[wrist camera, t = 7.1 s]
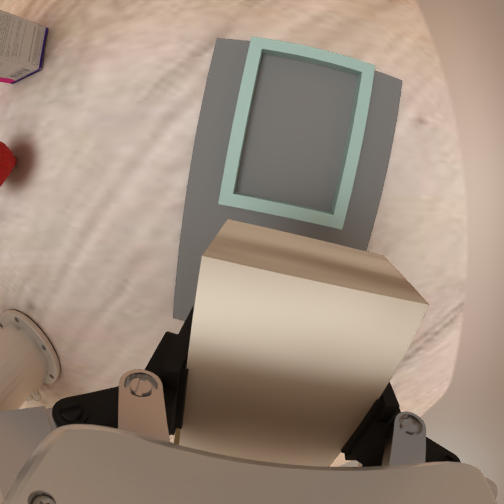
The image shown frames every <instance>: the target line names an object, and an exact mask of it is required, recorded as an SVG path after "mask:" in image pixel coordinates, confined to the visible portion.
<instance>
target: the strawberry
mask: <svg viewBox="0 0 504 504" xmlns="http://www.w3.org/2000/svg"><path fill="white" fill-rule="evenodd" d="M16 163H17V160H16V158H15V156H14V155H13V153H12V152H11V150H10V149H9V148H8V147H7V146H6V145H5V144H4V143H3V142H0V186H1V185H2V184H3V183H4V181H5V180H6V179H7V177H8V176H9V175H10V173H11V171H12V169H13V168H14V167H15V165H16Z"/></svg>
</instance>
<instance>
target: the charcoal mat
mask: <svg viewBox="0 0 504 504" xmlns="http://www.w3.org/2000/svg"><path fill="white" fill-rule="evenodd" d="M249 45H250V41H243V40H233V39H222V38H217V40H216V44H215V48H214V52H213V56H212V60H211V65H210V69H209V73H208V78H207V82H206V87H205V91H204V96H203V101H202V106H201V111H200V116H199V121H198V126H197V132H196V137H195V143H194V148H193V154H192V160H191V166H190V172H189V179H188V185H187V192H186V199H185V206H184V214H183V221H182V229H181V238H180V246H179V255H178V265H177V275H176V286H175V298H174V311H173V318H175V319H179V320H183V321H186V319H187V317H188V315H189V313H190V311H191V309H192V307H193V306H194V305H195V298H196V291H197V285H198V278H199V272H200V265H201V259H202V255H203V254H204V252H205V251H206V249H207V248H208V246H209V245H210V244H211V242H212V241H213V239H214V238H215V236H216V235H217V234H218V232H219V231H220V229H221V228H222V227H223V225H224V224H225V222H226V221H227V220H228V219H230V220H234V221H239V222H243V223H248V224H252V225H257V226H261V227H266V228H270V229H274V230H279V231H283V232H287V233H292V234H296V235H300V236H304V237H309V238H313V239H317V240H321V241H325V242H330V243H334V244H338V245H342V246H346V247H350V248H354V249H358V250H362V251H366V249H367V246H368V243H369V239H370V236H371V232H372V229H373V225H374V221H375V218H376V214H377V210H378V206H379V202H380V198H381V194H382V190H383V186H384V181H385V177H386V172H387V168H388V163H389V158H390V153H391V148H392V143H393V138H394V132H395V127H396V121H397V115H398V108H399V102H400V95H401V87H402V80H399V79H397V78H394V77H392V76H389V75H386V74H383V73H381V72H378V71H374V78H373V84H372V91H371V97H370V103H369V109H368V115H367V121H366V126H365V131H364V137H363V142H362V147H361V152H360V156H359V161H358V166H357V170H356V175H355V179H354V184H353V188H352V192H351V197H350V201H349V205H348V209H347V213H346V217H345V221H344V225H343V228H342V230H341V229H337V228H333V227H328V226H324V225H319V224H315V223H310V222H306V221H301V220H296V219H292V218H287V217H282V216H277V215H272V214H267V213H262V212H257V211H252V210H247V209H242V208H237V207H232V206H226V205H221V204H218V203H219V197H220V191H221V185H222V179H223V174H224V168H225V162H226V157H227V151H228V146H229V141H230V136H231V130H232V125H233V120H234V115H235V110H236V105H237V100H238V96H239V91H240V86H241V81H242V77H243V72H244V67H245V63H246V58H247V54H248V50H249ZM357 80H358V75H355V74H351V73H348V72H345V71H341V70H337V69H334V68H330V67H326V66H322V65H318V64H314V63H310V62H305V61H301V60H296V59H291V58H286V57H280V56H275V55H269V54H262V58H261V62H260V67H259V72H258V76H257V81H256V86H255V91H254V95H253V100H252V105H251V110H250V115H249V120H248V125H247V130H246V135H245V141H244V146H243V151H242V156H241V161H240V167H239V172H238V178H237V183H236V189H235V192H238V193H243V194H248V195H253V196H258V197H263V198H268V199H273V200H278V201H283V202H288V203H292V204H297V205H302V206H306V207H311V208H315V209H319V210H324V211H328V212H331V209H332V205H333V200H334V196H335V192H336V187H337V183H338V179H339V174H340V170H341V165H342V160H343V155H344V151H345V146H346V141H347V136H348V131H349V125H350V120H351V115H352V109H353V104H354V98H355V92H356V86H357Z"/></svg>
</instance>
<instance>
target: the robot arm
mask: <svg viewBox="0 0 504 504" xmlns="http://www.w3.org/2000/svg"><path fill="white" fill-rule="evenodd" d="M193 312H194V306H193V307H192V309H191V311H190V313H189V315H188V317H187V319H186V321H185V322H184V324H183V326H182V328H181V330H180V332H179V334H174V333H171V332H166V333H165V335H164V336H163V338H162V340H161V342H160V343H159V345H158V347H157V349H156V351H155V352H154V354H153V356H152V358H151V359H150V361H149V363H148V365H147V367H146V368H145V370H141V369H137V370H131V371H128V372H126V373H125V374H123V376H122V377H121V378H120V381H119V386H118V387H114V388H110V389H105V390H101V391H96V392H92V393H87V394H82V395H77V396H72V397H67V398H63V399H61V400H59V401H58V402H56V404H55V405H54V406H53V408H49V409H46V407H45V406H41V407H34V408H26V409H19V407H20V406H21V405H22V404H23V403H24V401H25V400H28V401H29V400H32V399H33V397H34V399H35V400H36V401H39V400H41V395H40V393H39V391H38V390H39V388H40V387H41V386H42V385H43V384H46V385H48V384H52V383H54V382H55V381H56V380H57V378H58V377H59V374H60V365H59V361H58V358H57V355H56V353H55V351H54V349H53V347H52V345H51V343H50V342H49V340H48V339H47V337H46V336H45V335H44V333H43V332H42V331H41V330H40V328H39V327H38V326H37V325H36V324H35V323H34V322H33V321H32V320H31V319H29V318H28V317H27V316H25V315H24V314H22V313H20V312H18V311H15V310H8V311H5V312H4V313H3V314H2V315H1V316H0V488H1V491H2V495H3V499H4V500H3V502H2V504H497V502H496V496H497V487H496V485H495V483H494V482H493V481H491V480H489V479H487V478H486V477H484V475H483V474H482V472H481V471H480V470H479V469H477V468H476V467H474V466H472V465H468V464H465V463H461V462H460V460H459V458H458V457H457V456H456V455H455V454H453V453H451V452H450V451H448V450H447V449H445V448H443V447H442V446H440V445H439V444H437V443H435V442H434V441H432V440H430V439H429V438H427V437H426V427H425V424H424V422H423V420H422V419H421V418H420V417H419V416H417V415H416V414H414V413H411V412H401V411H400V409H399V404H398V401H397V399H396V396H395V394H394V391H393V389H392V386H391V384H390V382H389V383H388V385H387V386H386V388H385V390H384V391H383V393H382V394H381V396H380V398H379V399H376V401H375V402H374V404H373V405H372V407H371V408H370V410H369V411H368V413H367V414H366V416H365V417H364V419H363V420H362V422H361V423H360V425H359V426H358V427H357V429H356V430H355V432H354V433H353V434H352V436H351V437H350V438H349V440H348V441H347V442H346V444H345V445H344V446H343V448H342V449H341V452H342V453H344V454H345V460H357V461H358V462H359V464H358V466H357V467H322V466H304V465H291V464H281V463H272V462H264V461H256V460H250V459H243V458H237V457H231V456H226V455H221V454H216V453H211V452H207V451H202V450H198V449H194V448H189V447H185V446H181V445H177V444H173V443H170V439H169V435H174V434H175V431H176V428H178V429H182V427H183V417H184V408H185V398H186V389H187V380H188V372H189V369H187V359H188V351H189V343H190V335H191V327H192V320H193Z"/></svg>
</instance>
